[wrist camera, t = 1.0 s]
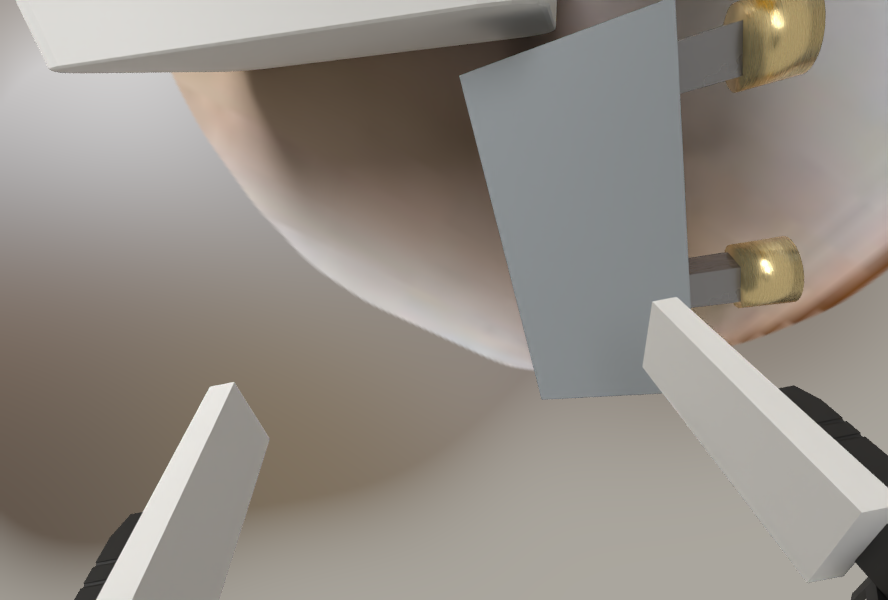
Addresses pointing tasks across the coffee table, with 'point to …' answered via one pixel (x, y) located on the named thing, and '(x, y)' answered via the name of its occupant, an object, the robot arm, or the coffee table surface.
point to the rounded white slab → (263, 31)
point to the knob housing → (588, 194)
